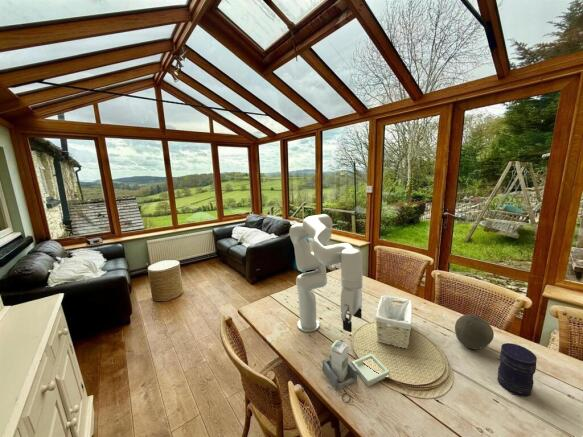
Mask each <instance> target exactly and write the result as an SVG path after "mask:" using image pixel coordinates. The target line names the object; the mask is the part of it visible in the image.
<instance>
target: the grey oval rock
mask: <svg viewBox="0 0 583 437" xmlns="http://www.w3.org/2000/svg"><path fill="white" fill-rule="evenodd" d="M454 331H455V336H456V339H457V341H458V342H459V343H460V344H462V345H463V346H464V347H466V348H468V349H471V350H482V349H484V348H486V347H487V346H489V345H490V344H491V343H492V341H493V339H494V334H495V333H494V330H493V327H492V326H491V325H490V323H489V322H488V321H487V320H485V319H484V318H482V317H480V316H478V315H477V314H471V313H470V314H468V313H467V314H463V315H462V316H460V317H459V318H457V320H456V322H455V326H454Z"/></svg>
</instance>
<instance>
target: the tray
mask: <svg viewBox="0 0 583 437" xmlns="http://www.w3.org/2000/svg"><path fill="white" fill-rule="evenodd" d="M370 358H371V359H373V361H374V362H375V363H376V364H377V365H378V366H379V367H380V368H381V369H382V370H383V372H381V373H379V374H378V373H376V372H374V371H373V370H372V369H370V368H369V367H367V366H366V365H364V364H363V361H365V360H368V359H370ZM351 364H352V365H353V366H354V367H355V368H356V370H357V376H359V377H360V378H361V380H362V381H363V382H364V384H366V385H367V387H370V386H372V385H374V384H376V383H378V382H381V381H383V380H385V379H386V378H385V376H387V375H389V376H390V370H388V368H387V367H386V366H385V365H384V364H383V363H382V362H381V361H379V360H378V358H377V357H376V356H375V355H374V354H373V353H369V354H366V355H364V356H362V357H359V358H357V359H355V360H352V361H351Z"/></svg>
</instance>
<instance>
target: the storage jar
mask: <svg viewBox="0 0 583 437" xmlns="http://www.w3.org/2000/svg"><path fill="white" fill-rule="evenodd" d="M499 361H500V362H499V365H498V367H497V383H498V385H500V387H501V388H502V389H504V390H505V391H506V392H508V393H509V394H512V395H514V396H516V397H520V398H530V397H531V396H532V392H533V388H534V384H535V381H534V374H535V373H536V371H537V370H536V368H537V361H538V358H537V355H536V354H535V353H534V352H533V351H531V350H529V349H528V348H527V347H524V346H522V345H519V344H516V343H511V342H506V343H502V344H501V348H500V354H499Z"/></svg>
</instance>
